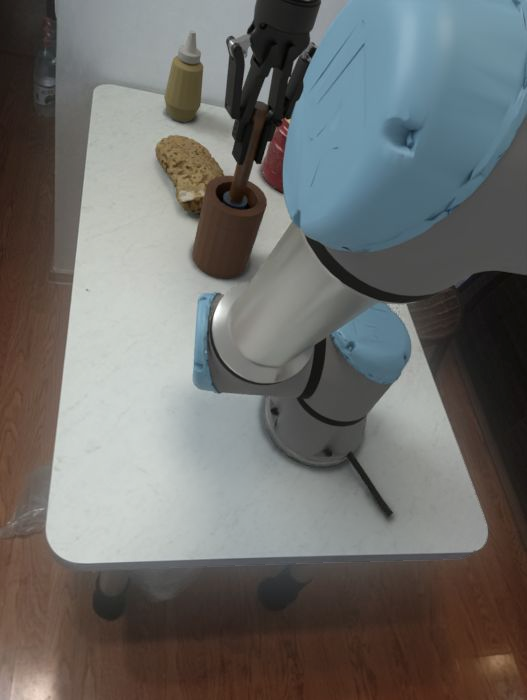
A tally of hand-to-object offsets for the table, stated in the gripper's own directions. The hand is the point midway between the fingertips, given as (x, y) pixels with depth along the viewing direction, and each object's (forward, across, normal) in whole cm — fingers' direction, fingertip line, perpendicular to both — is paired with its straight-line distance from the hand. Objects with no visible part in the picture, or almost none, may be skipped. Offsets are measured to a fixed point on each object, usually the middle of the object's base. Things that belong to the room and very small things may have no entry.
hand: (246, 158), depth 81 cm
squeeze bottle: (+21, -8, -45) cm, 50 cm away
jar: (+21, 0, 0) cm, 21 cm away
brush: (+13, 0, 0) cm, 13 cm away
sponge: (+21, -1, -20) cm, 29 cm away
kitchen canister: (+21, -25, -21) cm, 39 cm away
